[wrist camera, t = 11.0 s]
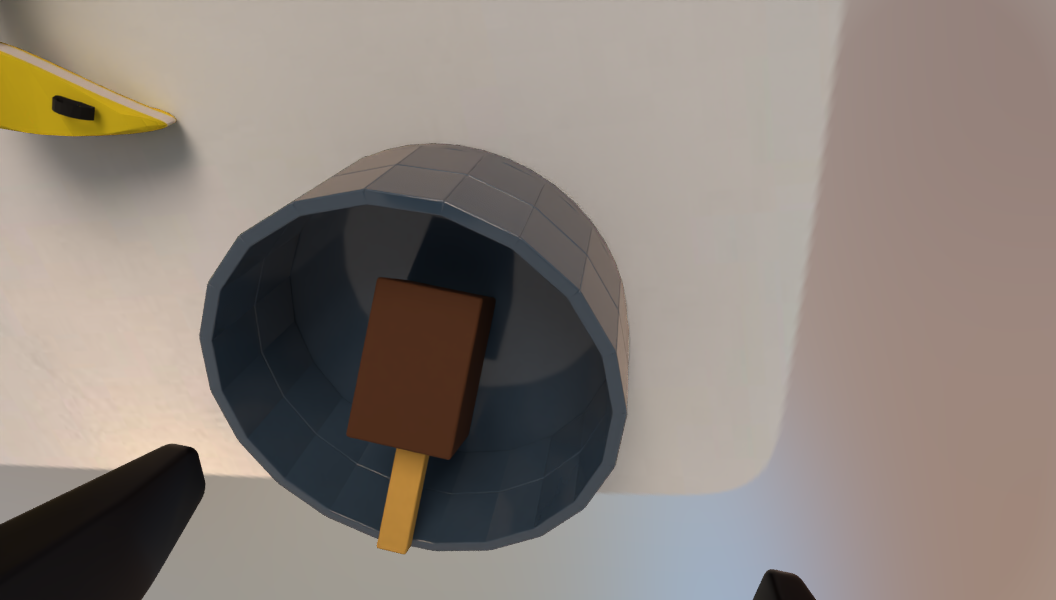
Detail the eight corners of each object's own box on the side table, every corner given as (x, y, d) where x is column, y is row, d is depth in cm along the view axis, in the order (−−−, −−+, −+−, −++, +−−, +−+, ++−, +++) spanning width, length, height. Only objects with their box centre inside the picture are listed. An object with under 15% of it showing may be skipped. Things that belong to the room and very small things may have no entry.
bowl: (660, 172, 17) (668, 234, 13) (597, 473, 23) (588, 584, 19) (271, 118, 19) (160, 158, 14) (305, 417, 25) (234, 510, 20)
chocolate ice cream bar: (496, 298, 20) (483, 298, 17) (445, 548, 20) (423, 593, 17) (405, 279, 20) (376, 276, 17) (356, 526, 20) (318, 566, 17)
